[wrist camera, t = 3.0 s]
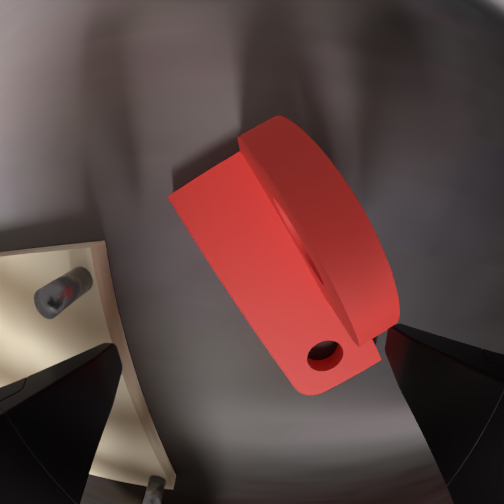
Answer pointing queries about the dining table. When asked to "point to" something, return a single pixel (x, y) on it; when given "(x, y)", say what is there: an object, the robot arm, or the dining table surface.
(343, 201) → the bracket
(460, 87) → the dining table surface
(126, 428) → the peg board
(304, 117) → the dining table surface
